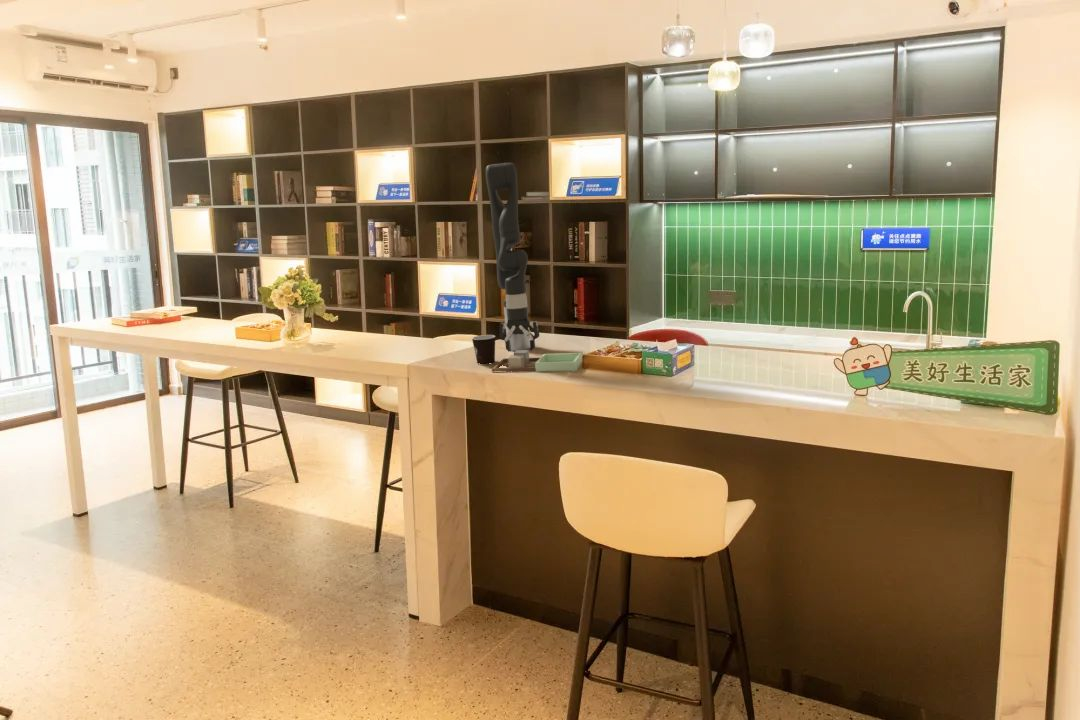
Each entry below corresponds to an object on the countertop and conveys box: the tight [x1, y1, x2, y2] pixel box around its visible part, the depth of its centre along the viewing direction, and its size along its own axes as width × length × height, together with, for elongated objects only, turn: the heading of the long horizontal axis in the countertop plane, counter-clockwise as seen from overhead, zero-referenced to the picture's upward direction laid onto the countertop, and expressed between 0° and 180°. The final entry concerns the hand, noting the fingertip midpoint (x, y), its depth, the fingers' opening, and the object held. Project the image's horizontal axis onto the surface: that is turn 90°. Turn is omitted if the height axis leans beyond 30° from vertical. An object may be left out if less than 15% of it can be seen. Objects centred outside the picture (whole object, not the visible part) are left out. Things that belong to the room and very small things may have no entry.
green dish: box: [535, 352, 583, 373], centre depth 291 cm, size 14×14×4 cm
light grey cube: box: [508, 354, 525, 368], centre depth 293 cm, size 4×4×4 cm
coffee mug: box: [471, 334, 496, 365], centre depth 308 cm, size 12×9×10 cm
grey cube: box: [513, 349, 530, 365], centre depth 300 cm, size 4×4×4 cm
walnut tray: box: [491, 356, 541, 373], centre depth 297 cm, size 16×16×2 cm
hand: (520, 350), depth 299 cm, fingers open, 8 cm apart
